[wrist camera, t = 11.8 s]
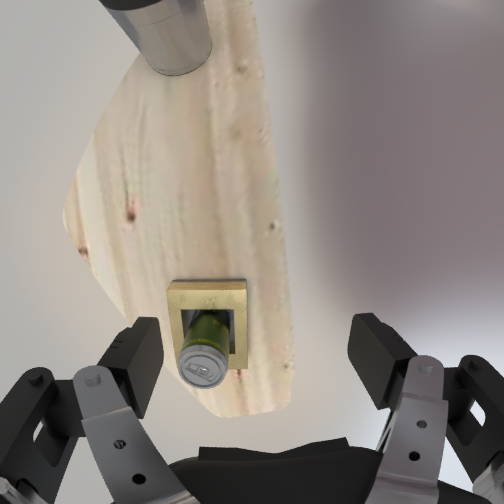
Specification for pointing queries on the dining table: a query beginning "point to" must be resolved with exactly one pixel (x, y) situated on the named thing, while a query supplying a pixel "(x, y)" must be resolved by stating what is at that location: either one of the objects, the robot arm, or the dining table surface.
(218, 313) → the beer can
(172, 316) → the socket block
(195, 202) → the dining table surface
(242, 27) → the dining table surface
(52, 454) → the robot arm
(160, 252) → the dining table surface
